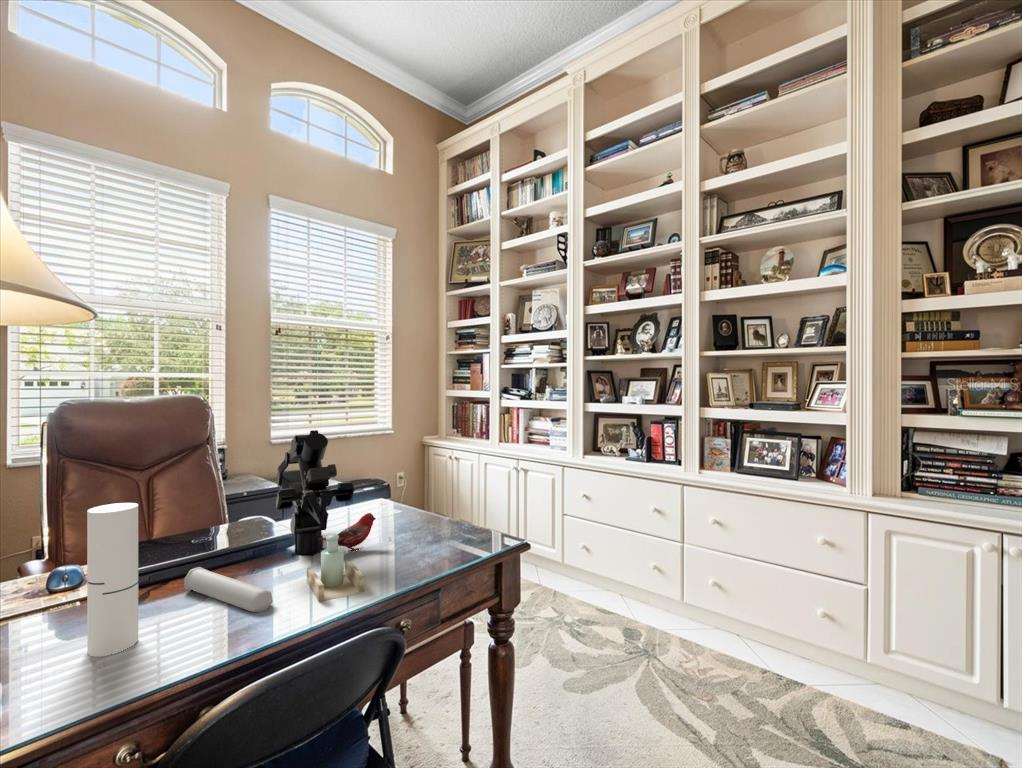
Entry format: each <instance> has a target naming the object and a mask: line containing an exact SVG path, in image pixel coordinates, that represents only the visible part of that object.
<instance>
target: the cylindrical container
mask: <svg viewBox="0 0 1022 768" xmlns="http://www.w3.org/2000/svg"><path fill="white" fill-rule="evenodd" d="M86 513H87V514H86V515H87V516H86V517H87V518H86V520H87V521H86V522H87V523H86V524H87V533H86V535H87V536H86V537H87V539H86V540H87V542H86V543H87V545H86V547H87V548H86V552H87V554H86V555H87V559H86V560H87V561H86V563H87V565H86V566H87V570H86V571H87V573H86V574H87V578H86V579H87V582H86V583H87V586H86V587H87V591H86V592H87V594H86V595H87V596H86V597H87V599H86V600H87V605H86V606H87V613H86V614H87V617H86V618H87V619H86V621H87V622H86V623H87V628H86V629H87V634H86V635H87V637H86V638H87V640H86V641H87V647H86V649H87V655H88V654H89V655H88V656H91V657H95V658H96V657H97V658H98V657H107V656H112V655H115V653H116V654H119V653H121V651H122V652H123V650H124V651H126V650H128V649H130V648H132V647H133V646H135V645H136V644H137V643H138V642H139V503H136V502H119V503H110V504H103V505H99V506H94V507H91V508H89V509H87V510H86ZM137 641H138V642H137ZM136 642H137V643H136ZM135 643H136V644H135ZM134 644H135V645H134ZM131 646H132V647H131ZM129 647H130V648H129ZM127 648H128V649H127ZM125 649H126V650H125ZM118 652H119V653H118ZM111 654H112V655H111Z"/></svg>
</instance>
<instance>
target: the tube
mask: <svg viewBox="0 0 1022 768" xmlns="http://www.w3.org/2000/svg"><path fill="white" fill-rule="evenodd" d="M183 581H184V582H183V583H184V584H183V586H184V590H187V591H190V592H196V593H199V594H202V595H205V596H208V597H210V598H213V599H216V600H218V601H221V602H224V603H227V604H230V605H232V606H234V607H238V608H241V609H244V610H247V611H249V612H251V613H262V612H264V611H266V610H268V609H269V608H270V607H271V605H272V604H273V602H274V601H273V595H272V591H270V590H269V589H266V588H263V587H260V586H257V585H254V584H251V583H247V582H244V581H242V580H238V579H235V578H232V577H229V576H225V575H223V574H219V573H217V572H213V571H210V570H208V569H206V568H204V567H201V566H198V567H193V568H192V569H190V570H189V571H188V573H187V574H186V576H185V577H184V579H183ZM191 590H193V591H191Z"/></svg>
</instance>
